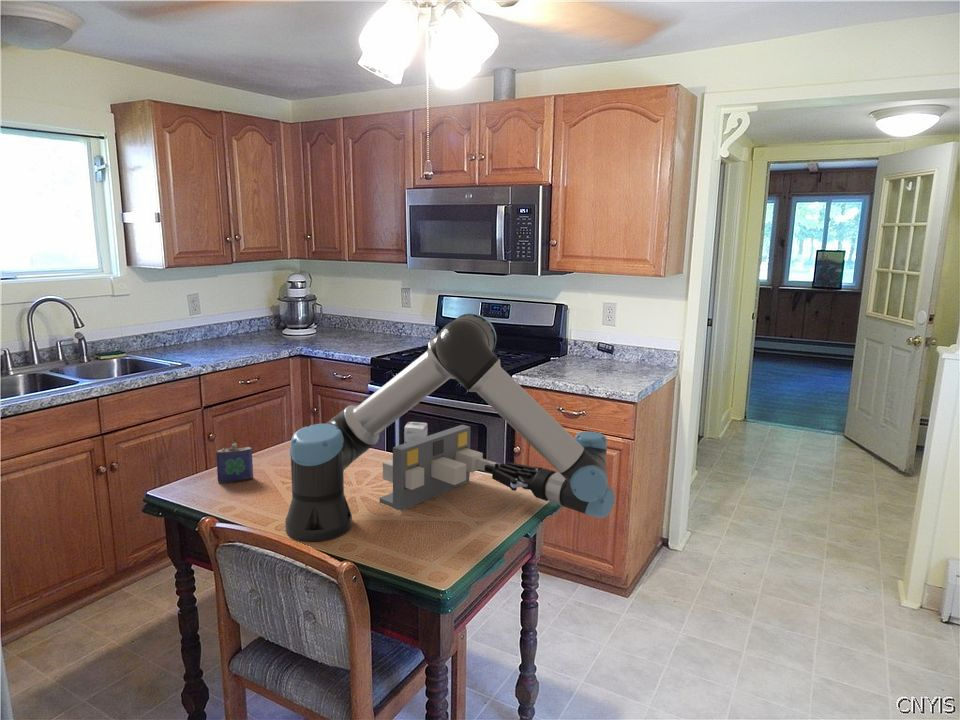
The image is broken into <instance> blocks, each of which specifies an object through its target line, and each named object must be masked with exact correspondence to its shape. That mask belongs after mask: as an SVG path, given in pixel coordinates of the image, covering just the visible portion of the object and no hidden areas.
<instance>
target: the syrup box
mask: <svg viewBox="0 0 960 720" xmlns="http://www.w3.org/2000/svg"><path fill="white" fill-rule="evenodd" d="M403 429H404V432H403V435H404V436H403V438H404V442H403V444H405V443H408V442H411V441H414V440H417V439H420V438H423V437H426V436H428V423H427V422H419V421H418V422H417V421H408V422H407V423H406V424H405V425H404V428H403Z"/></svg>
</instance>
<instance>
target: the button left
mask: <svg viewBox="0 0 960 720" xmlns="http://www.w3.org/2000/svg"><path fill="white" fill-rule="evenodd" d="M382 479H383V480H384V481H387V482H389V483H391V484H393V458H392V459H390V460H386V461H384V462H382ZM423 485H424V468H422V467H419V466H413V467H411V468H408V469H405V470H404V487H405V488H408V489H410V490H413V489H415V488H418V487H420V486H423Z"/></svg>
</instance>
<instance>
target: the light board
mask: <svg viewBox="0 0 960 720" xmlns="http://www.w3.org/2000/svg"><path fill="white" fill-rule="evenodd" d="M471 431H472V429H471V426H468V425H466V424H460V425H458V426H457V425H456V426H454V427H451V428H448V429H444V430H441V431H439V432H436V433H432V434H429V435H427V436H426V437H423V438H420V439H417V440H414V441H411V442H408V443H405V444H404V443H403V444H402V443H401V444H398V445H396V446H393V447H392V459H393V483H392V492H391V493H388V494H385V495H383V496H380V497H378V498H379V503H381V504H383V505H385V504H386V505H385V506H387V505H388V506H387V507H390V508H393V509H395V510H397V511H400V512H403V511H406V510H408V509H409V508H412V507H414V506H416V504H417V505H419V504H421V503H424V502H426V501H428V500H430V499H433V498H435V497H437V496H439V495H442V494H444V493H446V492H448V491H451V490H453V489H456V488H458V487H460V486H463V485H464V484H467V483H470V478H471V477H470V475H471V474H470V473H471V472H468V471H466V481H463V482H461V483H459V484H456V485H453V484H450V483H447V482H444V481H442V480H439V479H436V478H433V477H431V460H432V459H435V458H438V457H440V456H442V457H446V458H449V459H452V460H455V451H457V450H459V449H462V448H468V449H471ZM413 466H419V467H422V468H424V485H423V486H420V487H418V488H415V489H413V490H410V489H408V488H405V487H404V470H405V469H408V468H411V467H413ZM432 497H433V498H432ZM425 500H426V501H425ZM418 503H419V504H418Z"/></svg>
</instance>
